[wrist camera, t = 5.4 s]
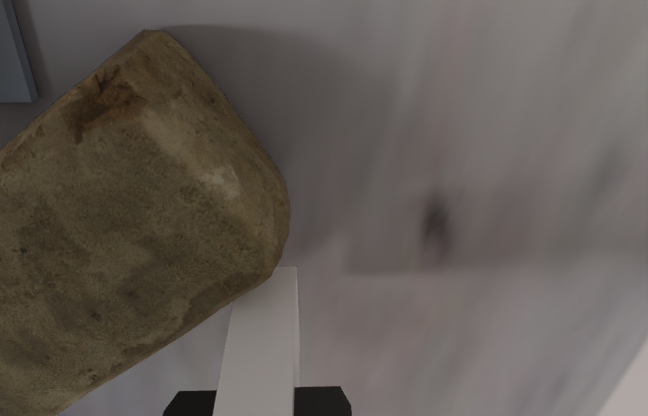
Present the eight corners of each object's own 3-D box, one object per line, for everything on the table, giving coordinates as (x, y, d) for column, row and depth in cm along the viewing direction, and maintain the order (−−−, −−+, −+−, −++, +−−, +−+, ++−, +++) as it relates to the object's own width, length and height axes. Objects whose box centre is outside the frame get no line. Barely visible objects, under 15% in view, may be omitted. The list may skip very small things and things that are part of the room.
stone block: (308, 166, 16) (305, 273, 12) (52, 344, 19) (-22, 476, 15) (161, -2, 14) (89, 56, 9) (-100, 237, 17) (-239, 358, 13)
